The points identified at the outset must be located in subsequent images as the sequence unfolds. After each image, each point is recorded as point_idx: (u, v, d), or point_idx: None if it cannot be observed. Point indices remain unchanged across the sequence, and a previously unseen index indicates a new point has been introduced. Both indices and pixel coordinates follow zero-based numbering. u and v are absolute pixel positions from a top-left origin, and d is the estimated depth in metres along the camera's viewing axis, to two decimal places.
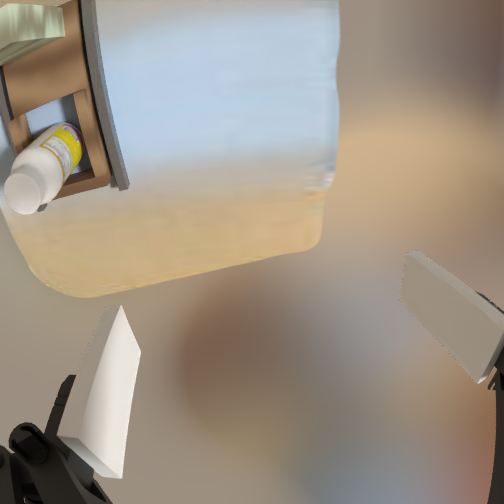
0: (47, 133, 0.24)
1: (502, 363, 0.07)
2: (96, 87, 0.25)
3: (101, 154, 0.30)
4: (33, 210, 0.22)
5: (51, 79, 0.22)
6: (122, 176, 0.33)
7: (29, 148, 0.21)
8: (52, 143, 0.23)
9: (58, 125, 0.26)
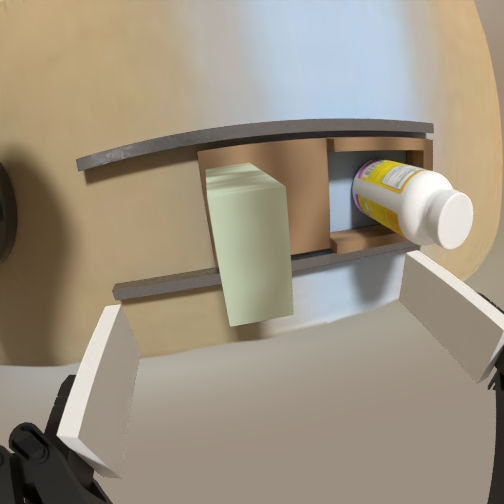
0: (374, 192, 0.25)
1: (502, 363, 0.07)
2: (327, 126, 0.25)
3: None
4: (472, 211, 0.18)
5: (302, 185, 0.27)
6: (421, 124, 0.26)
7: (401, 206, 0.21)
8: (395, 180, 0.22)
9: (359, 184, 0.27)
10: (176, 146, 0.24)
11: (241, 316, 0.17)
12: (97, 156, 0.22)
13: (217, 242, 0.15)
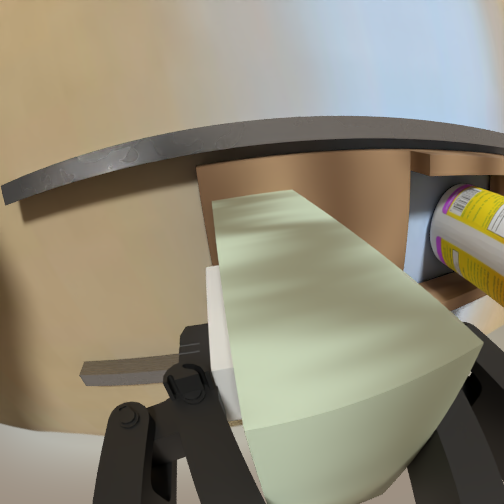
0: (474, 241, 0.14)
1: None
2: (413, 131, 0.14)
3: (494, 155, 0.14)
4: None
5: (372, 227, 0.16)
6: None
7: None
8: None
9: (446, 222, 0.16)
10: (156, 158, 0.12)
11: None
12: (28, 180, 0.11)
13: (269, 486, 0.04)
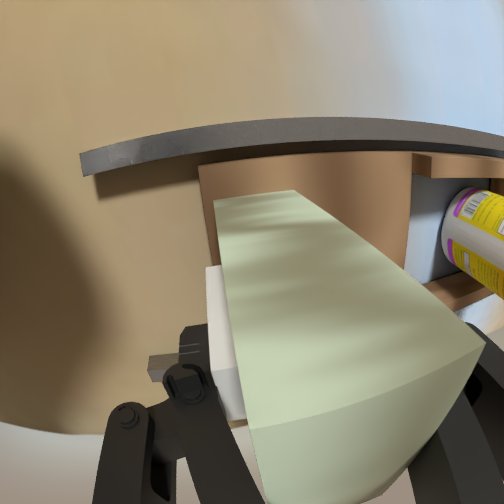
0: (484, 243, 0.14)
1: None
2: (470, 139, 0.14)
3: (494, 158, 0.14)
4: None
5: (373, 229, 0.16)
6: None
7: None
8: None
9: (457, 225, 0.16)
10: (279, 140, 0.13)
11: None
12: (121, 148, 0.12)
13: (270, 485, 0.04)
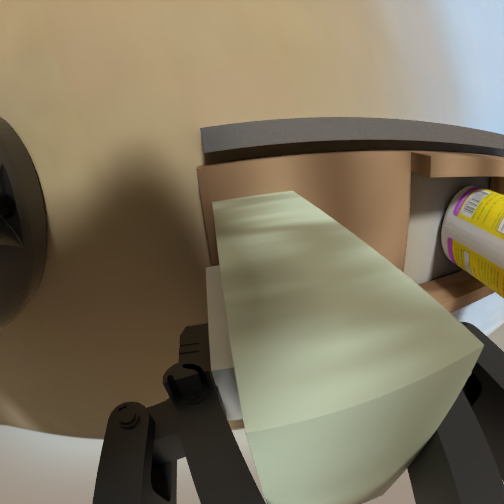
0: (484, 242, 0.14)
1: None
2: None
3: (494, 157, 0.14)
4: None
5: (373, 228, 0.16)
6: None
7: None
8: None
9: (457, 224, 0.16)
10: (386, 137, 0.14)
11: None
12: (250, 128, 0.13)
13: (269, 487, 0.04)
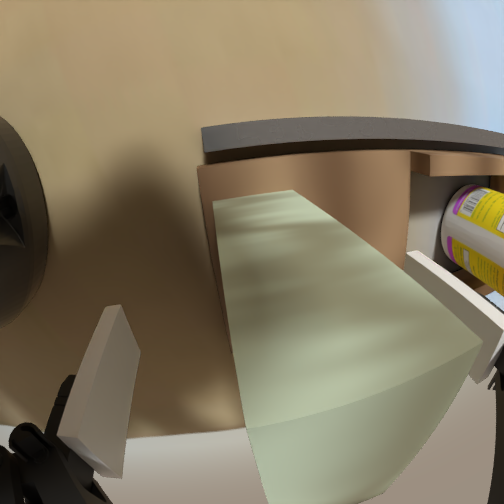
0: (484, 241, 0.14)
1: (502, 363, 0.07)
2: None
3: (494, 156, 0.14)
4: None
5: (372, 227, 0.16)
6: None
7: None
8: None
9: (456, 223, 0.16)
10: (386, 136, 0.14)
11: None
12: (251, 127, 0.13)
13: (270, 484, 0.04)
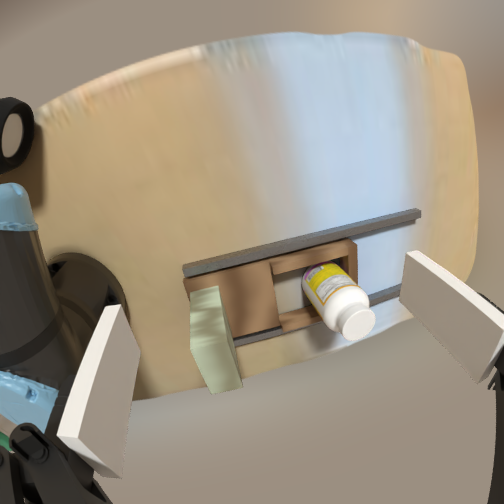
0: (311, 295, 0.39)
1: (502, 363, 0.07)
2: (349, 233, 0.40)
3: (329, 248, 0.40)
4: (373, 316, 0.32)
5: (255, 293, 0.41)
6: (412, 214, 0.41)
7: (323, 314, 0.35)
8: (322, 293, 0.36)
9: (305, 284, 0.42)
10: (255, 259, 0.39)
11: (216, 390, 0.32)
12: (199, 267, 0.38)
13: (198, 364, 0.29)
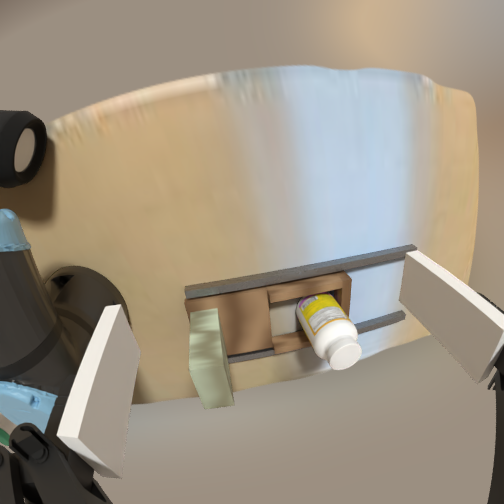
0: (304, 324, 0.41)
1: (502, 363, 0.07)
2: (345, 267, 0.42)
3: (325, 280, 0.42)
4: (360, 349, 0.34)
5: (251, 317, 0.43)
6: (408, 250, 0.43)
7: (313, 343, 0.37)
8: (314, 324, 0.38)
9: (299, 312, 0.44)
10: (254, 286, 0.41)
11: (209, 406, 0.33)
12: (201, 291, 0.40)
13: (195, 383, 0.31)
